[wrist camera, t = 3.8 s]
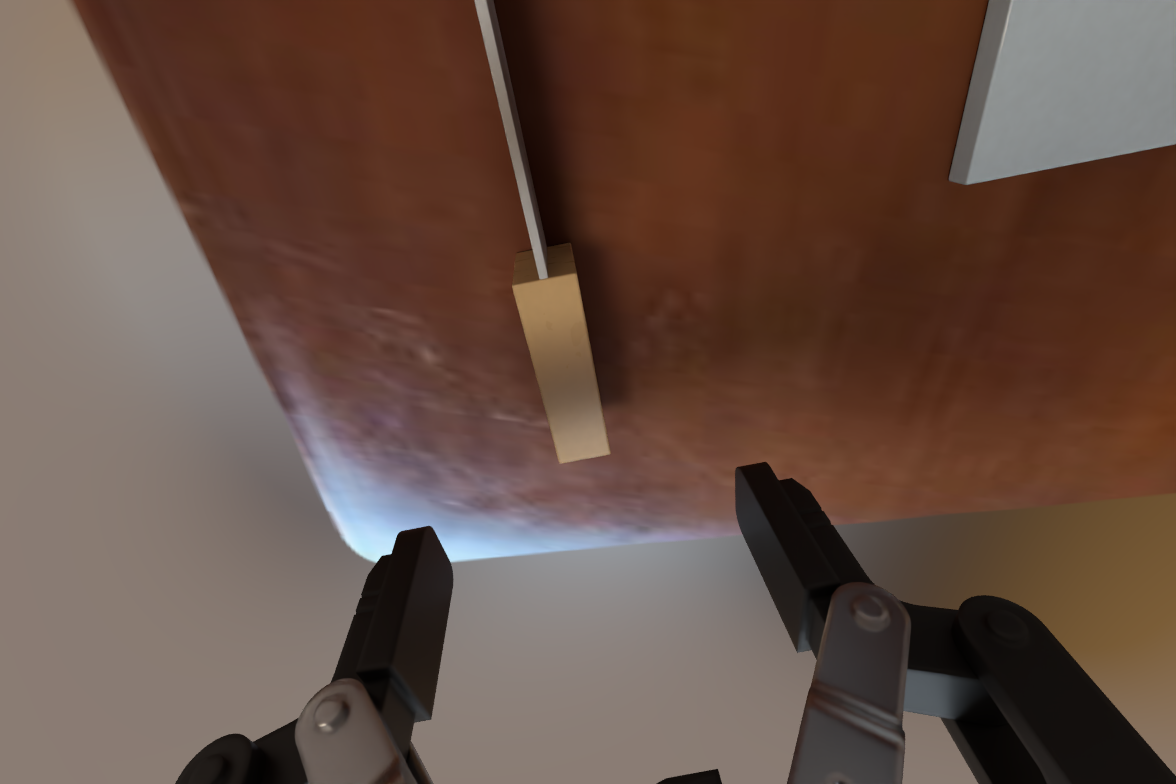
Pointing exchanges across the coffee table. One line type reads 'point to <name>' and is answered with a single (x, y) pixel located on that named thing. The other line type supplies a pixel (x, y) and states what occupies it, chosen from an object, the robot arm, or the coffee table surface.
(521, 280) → the knife
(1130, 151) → the light grey flat board
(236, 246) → the coffee table surface
